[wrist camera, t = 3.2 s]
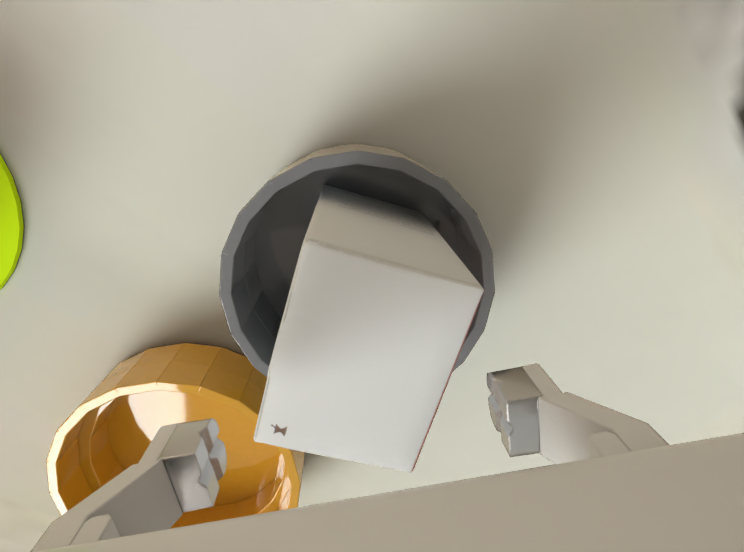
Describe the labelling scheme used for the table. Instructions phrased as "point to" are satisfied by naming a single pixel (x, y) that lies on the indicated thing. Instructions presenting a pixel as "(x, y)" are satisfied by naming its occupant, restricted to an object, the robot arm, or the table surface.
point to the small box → (366, 334)
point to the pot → (291, 221)
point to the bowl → (170, 406)
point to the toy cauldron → (9, 224)
